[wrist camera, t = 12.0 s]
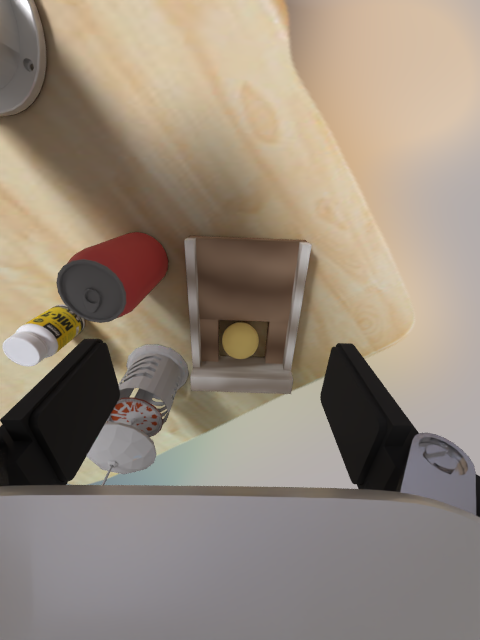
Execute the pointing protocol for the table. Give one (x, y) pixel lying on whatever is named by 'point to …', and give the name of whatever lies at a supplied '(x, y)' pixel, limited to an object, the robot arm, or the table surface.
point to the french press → (139, 410)
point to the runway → (244, 308)
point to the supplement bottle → (43, 336)
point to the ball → (240, 340)
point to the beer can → (112, 276)
